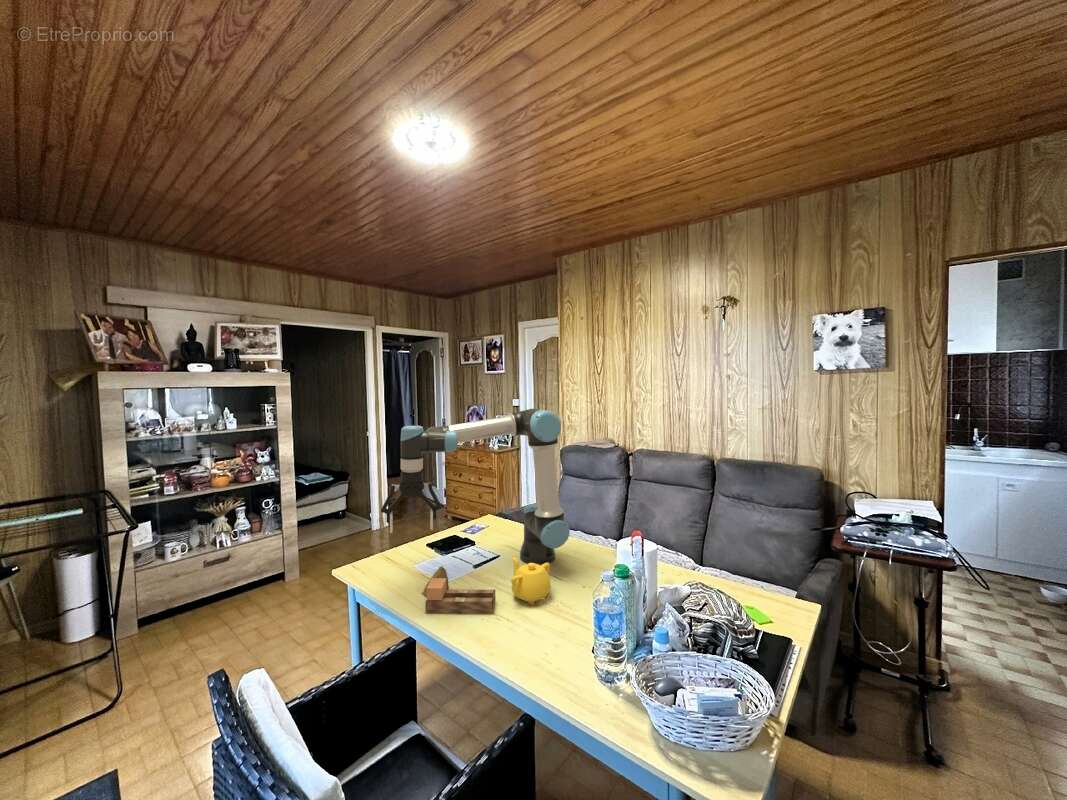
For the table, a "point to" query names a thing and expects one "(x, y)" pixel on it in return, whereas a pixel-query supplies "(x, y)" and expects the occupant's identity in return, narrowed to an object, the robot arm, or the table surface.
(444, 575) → the rock
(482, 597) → the beam
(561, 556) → the table surface
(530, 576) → the teapot
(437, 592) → the orange brown block
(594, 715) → the table surface
